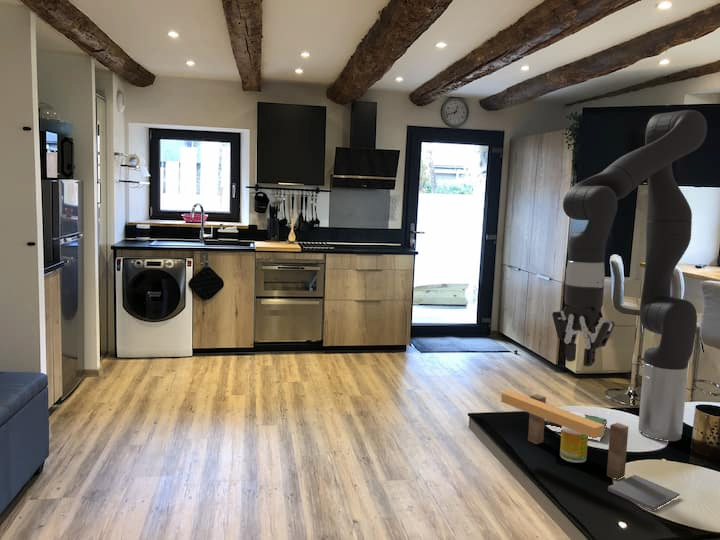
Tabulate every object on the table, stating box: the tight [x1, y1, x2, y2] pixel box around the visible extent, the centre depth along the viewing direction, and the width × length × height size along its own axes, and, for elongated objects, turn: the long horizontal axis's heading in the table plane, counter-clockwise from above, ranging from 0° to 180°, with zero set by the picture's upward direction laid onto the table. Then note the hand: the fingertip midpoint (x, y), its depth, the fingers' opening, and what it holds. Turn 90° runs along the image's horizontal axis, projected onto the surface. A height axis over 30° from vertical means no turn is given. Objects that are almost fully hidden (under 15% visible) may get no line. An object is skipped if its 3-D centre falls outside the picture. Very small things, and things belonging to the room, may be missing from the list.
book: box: [607, 474, 681, 512], centre depth 110 cm, size 9×9×1 cm
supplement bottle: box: [559, 411, 589, 464], centre depth 125 cm, size 5×5×10 cm
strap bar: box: [500, 390, 605, 438], centre depth 119 cm, size 3×23×2 cm, turn 34°
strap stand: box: [527, 393, 629, 479], centre depth 125 cm, size 2×22×11 cm, turn 34°
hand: (579, 362), depth 123 cm, fingers open, 3 cm apart
